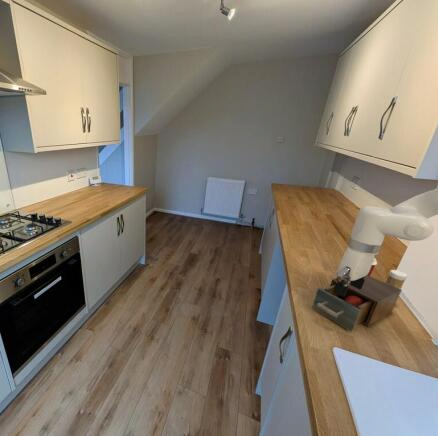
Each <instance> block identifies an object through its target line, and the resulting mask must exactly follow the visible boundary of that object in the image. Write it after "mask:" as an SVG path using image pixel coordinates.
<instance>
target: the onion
mask: <svg viewBox="0 0 438 436" xmlns="http://www.w3.org/2000/svg"><path fill="white" fill-rule="evenodd" d="M344 301H345V302H347V303H349V304H351V305H353V306H354V307H356V308H357V307H358V306H360V305H362V304H364V303H366V302H368V301H366V300H364V299H362V298H361V297H358V296H347V297H346V298H345V299H344Z"/></svg>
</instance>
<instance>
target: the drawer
mask: <svg viewBox="0 0 438 436" xmlns="http://www.w3.org/2000/svg"><path fill="white" fill-rule="evenodd" d="M335 285H336V284H335ZM335 285H332V286H330V285H329V286H327V287H325V288H324V289H323V288H322V287H318V288H317V290H316V294H315V297H314V300H313V303H312V307H311V308H312V309H314V310H315V311H317V312H318V313H320V314H321V315H323V316H325V317H326V318H328V319H330V320H331V321H333V322H335V323H336V324H338V325H339V326H341V327H342V328H344V329H345V330H347V331H349V332H350V333H352V332H354V331H355V328H356V326H358V325H359V324H362V323H361V322H363V321H365V320H367V318H368V316H369V313H370V311H371V308H372V306H373V304H374V303H373V302H371V301H370V300H368V299H366V298H364V297H362V296H360V295H358V294H356V293H354V292H352V291H350V290H347V292H346V295H345V297H342V296H340V295H338V294H336V293H335V292H334V288H335ZM347 296H358V297H361V298H362V299H364V300H366V301H368V302H366V303H364V304H362V305H360V306H358V307H357V308H356V307H354V306H353V305H351V304H349V303H347V302H345V301H344V299H345V298H346V297H347Z"/></svg>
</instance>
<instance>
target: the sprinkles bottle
mask: <svg viewBox="0 0 438 436" xmlns="http://www.w3.org/2000/svg"><path fill="white" fill-rule="evenodd" d="M407 278H408V274H407V273H405V272H404V271H401V270H397V269H391V270H389V273H388V277H387V279H386V281H385V283H387V284H389V285H391V286H394V287H396V288H398V289H401V290H402V287H403V286H404V283H405V282H406V280H407Z"/></svg>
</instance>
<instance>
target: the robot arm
mask: <svg viewBox="0 0 438 436" xmlns="http://www.w3.org/2000/svg"><path fill="white" fill-rule="evenodd" d="M435 216H438V188H434V189H430V190H428V191H425V192H422V193H420V194H418V195H415V196H413V197H411V198H409V199H406V200H405V201H402V202H400V203H398V204H396V205H394V206H393V207H391V208H390V209H388V208H385V207H381V206H373V205H365V206H361V208H360V209H358V212H357V216H356V219H355V220H354V221H355V222H354V225H353V228H352V230H351V234H350V237H349V240H348V243H347V245H346V247H347V248H346V250H345V252H344V253H343V256H342V258H341V260H340V262H339V265H338V268H337V269H336V274H337V275H336V278H337V281H336V285H335V288H334V292H335V293H336V294H338V295H340V296H342V297H345V295H346V292H347V290H348V284H349V283H350V282H351V283H350V285H351V286H353V287H356V288H358V289H362V287H363V284H364V281H365V279H366V277H367V276H366V275H367V274H368V273H369V271H370V269H371V266H372V263H373V260H374V258H376V256H377V255H379V253H380V251H381V248H382V245H383V243H384V239H385V237H386V235H387V236H391V237H394V238H397V239H400V240H405V241H410V242H416V241H423V240H426V239H428V238H429V237H430V236H431V235H432V234H433V233H434V225H433V223H432V222H431V220H429V219H430V218H432V217H435ZM346 275H348V276H350V278H349V277H347V276H346ZM344 278H345V279H347V281H346V282H345V280H343V279H344Z"/></svg>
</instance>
